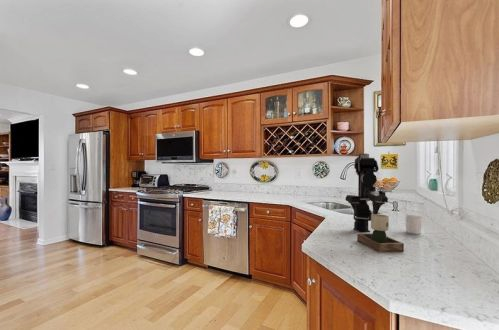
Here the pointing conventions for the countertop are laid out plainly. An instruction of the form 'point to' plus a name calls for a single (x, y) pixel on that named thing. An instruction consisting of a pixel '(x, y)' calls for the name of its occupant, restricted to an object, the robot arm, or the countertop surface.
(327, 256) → the countertop surface
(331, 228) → the countertop surface
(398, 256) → the countertop surface
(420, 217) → the white cup
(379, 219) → the character mug
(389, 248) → the box
